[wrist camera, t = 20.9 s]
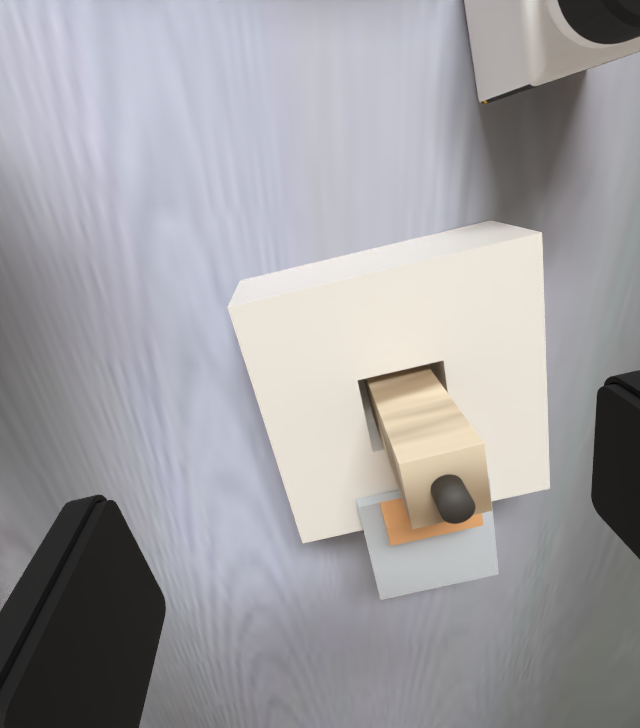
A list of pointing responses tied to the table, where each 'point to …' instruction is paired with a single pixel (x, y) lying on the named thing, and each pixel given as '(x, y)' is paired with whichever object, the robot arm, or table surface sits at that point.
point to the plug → (429, 448)
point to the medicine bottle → (545, 40)
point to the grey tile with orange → (424, 548)
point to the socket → (398, 360)
